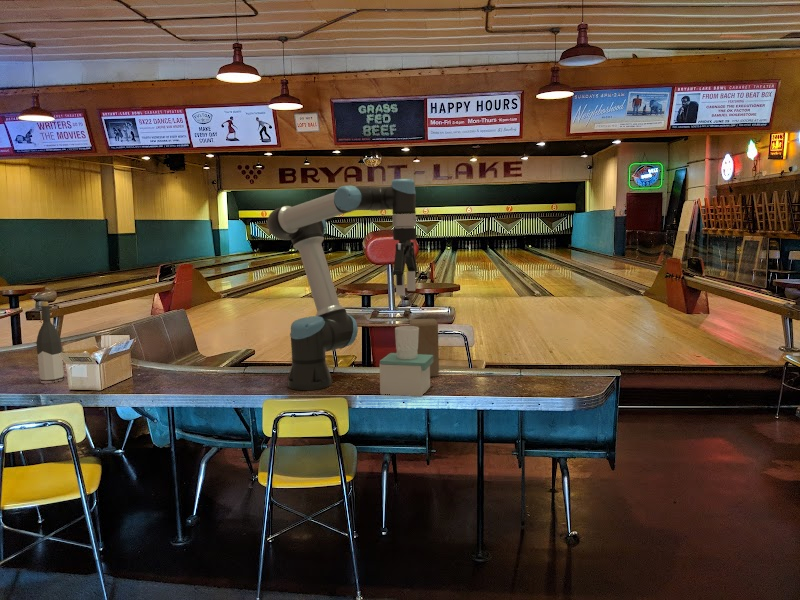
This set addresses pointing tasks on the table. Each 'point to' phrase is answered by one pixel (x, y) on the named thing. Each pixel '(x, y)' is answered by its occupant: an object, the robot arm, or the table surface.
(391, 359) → the lid
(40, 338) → the wine bottle
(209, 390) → the table surface
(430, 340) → the block
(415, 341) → the white cup
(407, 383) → the box
